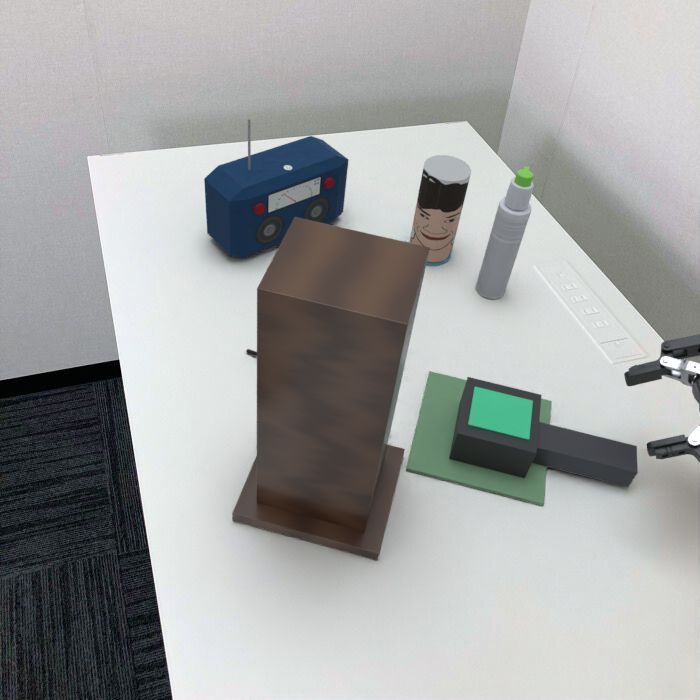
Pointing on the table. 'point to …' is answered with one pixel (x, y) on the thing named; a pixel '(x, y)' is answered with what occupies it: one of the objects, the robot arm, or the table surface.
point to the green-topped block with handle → (531, 438)
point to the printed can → (440, 206)
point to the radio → (273, 194)
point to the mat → (437, 441)
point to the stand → (330, 385)
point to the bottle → (506, 236)
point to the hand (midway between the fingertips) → (636, 413)
